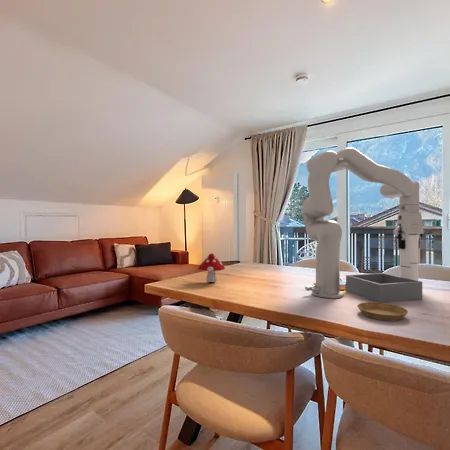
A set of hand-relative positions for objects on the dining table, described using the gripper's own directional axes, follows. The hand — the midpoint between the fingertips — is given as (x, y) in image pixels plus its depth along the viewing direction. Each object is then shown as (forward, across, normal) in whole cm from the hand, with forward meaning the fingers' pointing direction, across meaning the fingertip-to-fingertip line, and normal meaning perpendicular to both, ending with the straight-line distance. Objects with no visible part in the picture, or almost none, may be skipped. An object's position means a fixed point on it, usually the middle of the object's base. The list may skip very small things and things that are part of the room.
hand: (409, 248), depth 131 cm
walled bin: (+19, -18, -4) cm, 26 cm away
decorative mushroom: (+19, -83, +38) cm, 93 cm away
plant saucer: (+19, -38, -26) cm, 50 cm away
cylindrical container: (+19, 0, 0) cm, 19 cm away
